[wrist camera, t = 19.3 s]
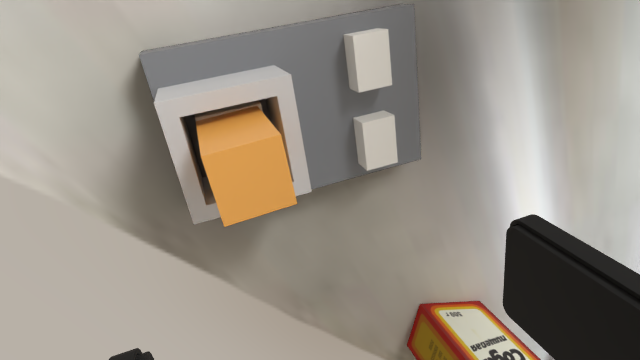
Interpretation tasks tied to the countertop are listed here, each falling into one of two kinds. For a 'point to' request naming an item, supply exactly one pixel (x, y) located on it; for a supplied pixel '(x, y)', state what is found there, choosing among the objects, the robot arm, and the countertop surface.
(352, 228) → the countertop surface
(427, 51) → the countertop surface
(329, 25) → the breaker panel
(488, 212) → the countertop surface
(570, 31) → the countertop surface
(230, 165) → the lockout block
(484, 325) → the baking soda box
